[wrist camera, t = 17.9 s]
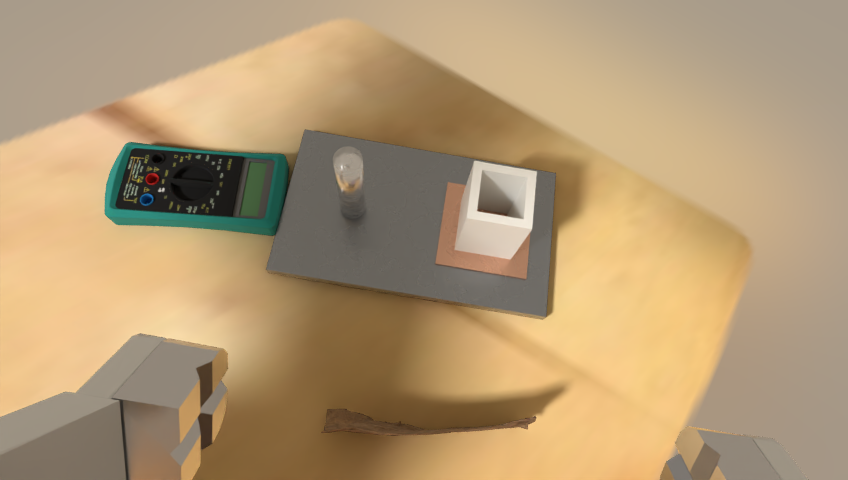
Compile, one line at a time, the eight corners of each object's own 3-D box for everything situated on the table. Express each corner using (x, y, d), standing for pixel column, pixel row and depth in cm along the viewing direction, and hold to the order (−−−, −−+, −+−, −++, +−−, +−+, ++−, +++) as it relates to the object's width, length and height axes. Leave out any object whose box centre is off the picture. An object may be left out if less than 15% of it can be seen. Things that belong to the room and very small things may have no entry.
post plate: (268, 272, 45) (241, 231, 36) (306, 135, 50) (290, 69, 42) (542, 319, 46) (581, 289, 37) (552, 178, 51) (588, 122, 42)
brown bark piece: (518, 407, 43) (535, 403, 38) (521, 434, 42) (538, 433, 38) (328, 409, 42) (322, 405, 37) (327, 437, 41) (320, 436, 36)
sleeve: (454, 249, 46) (466, 218, 40) (461, 199, 48) (474, 160, 41) (510, 259, 46) (532, 229, 40) (515, 208, 48) (536, 171, 42)
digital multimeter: (130, 153, 49) (115, 136, 46) (292, 166, 50) (287, 150, 47) (109, 226, 46) (92, 213, 43) (281, 238, 47) (275, 226, 44)
